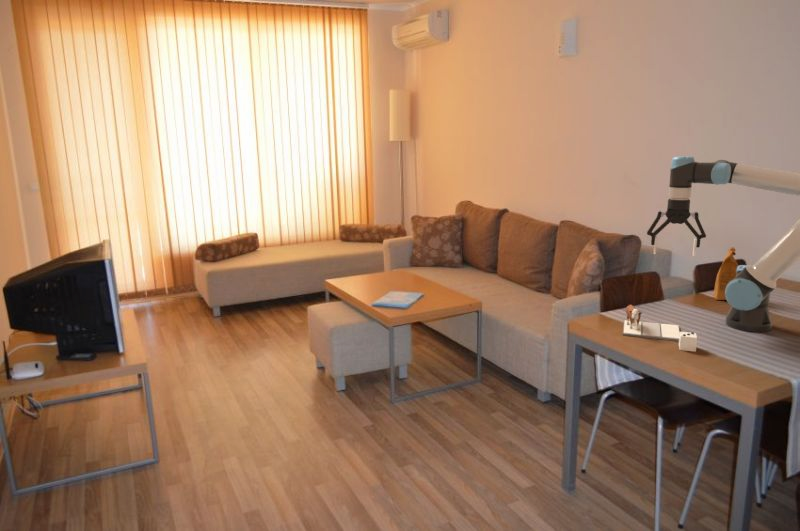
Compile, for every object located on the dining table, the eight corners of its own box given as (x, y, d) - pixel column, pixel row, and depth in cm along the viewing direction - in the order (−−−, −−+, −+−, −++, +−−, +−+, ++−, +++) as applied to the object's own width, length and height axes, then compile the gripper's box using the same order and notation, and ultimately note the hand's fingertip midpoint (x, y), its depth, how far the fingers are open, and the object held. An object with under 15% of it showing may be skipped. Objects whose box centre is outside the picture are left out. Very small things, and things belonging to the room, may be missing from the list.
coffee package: (739, 296, 268) (745, 247, 263) (738, 303, 257) (744, 252, 252) (714, 293, 273) (720, 245, 268) (712, 300, 262) (717, 250, 257)
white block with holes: (694, 346, 209) (695, 331, 208) (695, 351, 205) (697, 336, 204) (678, 345, 211) (679, 330, 210) (679, 350, 207) (681, 334, 205)
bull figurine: (629, 332, 221) (630, 311, 219) (624, 321, 234) (625, 300, 232) (641, 333, 220) (643, 311, 219) (636, 321, 233) (637, 301, 231)
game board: (678, 327, 229) (678, 325, 229) (681, 341, 214) (681, 338, 214) (623, 322, 236) (624, 319, 236) (622, 335, 221) (622, 332, 221)
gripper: (715, 198, 223) (709, 254, 228) (642, 196, 232) (638, 250, 237) (718, 200, 216) (711, 258, 221) (643, 198, 225) (638, 254, 230)
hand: (674, 254), depth 229 cm, fingers open, 13 cm apart
